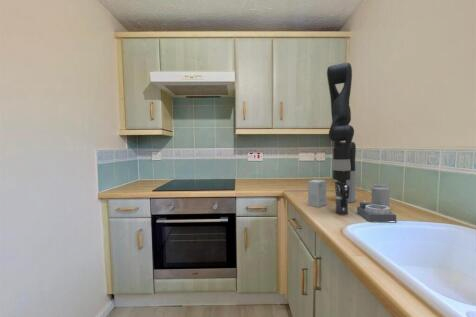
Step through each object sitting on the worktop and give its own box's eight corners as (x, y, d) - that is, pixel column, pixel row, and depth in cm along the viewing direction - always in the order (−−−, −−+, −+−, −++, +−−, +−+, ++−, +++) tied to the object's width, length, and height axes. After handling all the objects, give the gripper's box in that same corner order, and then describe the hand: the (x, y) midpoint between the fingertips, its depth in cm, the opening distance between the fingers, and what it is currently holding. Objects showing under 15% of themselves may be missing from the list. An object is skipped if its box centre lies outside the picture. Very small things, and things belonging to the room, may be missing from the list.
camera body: (357, 212, 110) (357, 200, 110) (380, 213, 109) (380, 200, 109) (369, 221, 96) (369, 207, 96) (396, 222, 95) (396, 208, 95)
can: (383, 207, 119) (383, 183, 119) (393, 211, 112) (393, 185, 111) (368, 207, 119) (368, 183, 119) (377, 211, 112) (377, 186, 111)
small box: (315, 202, 132) (315, 179, 132) (326, 204, 128) (326, 180, 127) (307, 205, 127) (307, 181, 126) (319, 207, 122) (318, 182, 122)
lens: (334, 211, 113) (334, 190, 113) (346, 211, 112) (345, 190, 112) (337, 214, 108) (337, 192, 108) (349, 214, 107) (349, 192, 107)
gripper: (329, 168, 117) (329, 202, 118) (337, 170, 103) (337, 209, 103) (345, 167, 116) (345, 202, 117) (355, 170, 102) (355, 209, 102)
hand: (341, 205), depth 110 cm, fingers closed on lens, 5 cm apart
